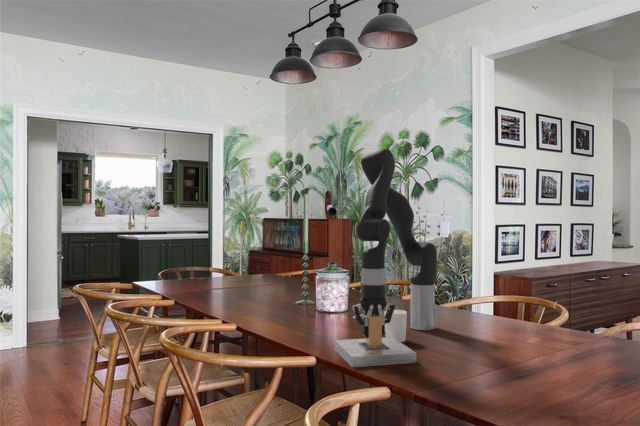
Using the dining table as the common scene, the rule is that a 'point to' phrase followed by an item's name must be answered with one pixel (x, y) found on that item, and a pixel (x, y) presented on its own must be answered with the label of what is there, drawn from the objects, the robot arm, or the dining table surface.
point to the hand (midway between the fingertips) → (373, 336)
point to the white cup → (397, 325)
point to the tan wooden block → (375, 331)
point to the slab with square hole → (374, 352)
